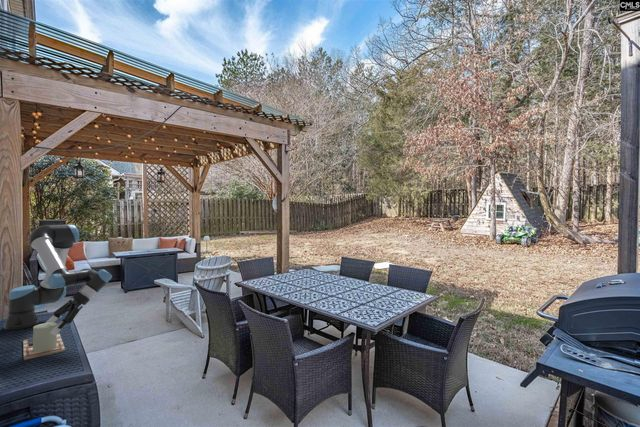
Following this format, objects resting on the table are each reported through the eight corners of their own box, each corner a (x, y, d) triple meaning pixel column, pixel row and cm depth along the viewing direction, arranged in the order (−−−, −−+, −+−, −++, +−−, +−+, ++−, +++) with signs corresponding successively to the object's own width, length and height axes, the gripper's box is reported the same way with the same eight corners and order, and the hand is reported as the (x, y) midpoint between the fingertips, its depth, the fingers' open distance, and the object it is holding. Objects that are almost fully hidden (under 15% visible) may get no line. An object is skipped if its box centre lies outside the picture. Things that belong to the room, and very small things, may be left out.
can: (42, 353, 153) (42, 328, 153) (27, 351, 155) (28, 326, 155) (61, 345, 162) (62, 322, 162) (47, 343, 164) (47, 320, 164)
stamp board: (23, 342, 168) (23, 338, 168) (59, 335, 178) (59, 331, 178) (23, 360, 148) (23, 356, 148) (64, 351, 158) (64, 347, 158)
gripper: (98, 303, 166) (62, 340, 154) (81, 295, 181) (47, 329, 168) (87, 295, 162) (48, 333, 149) (70, 287, 176) (34, 321, 164)
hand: (48, 331), depth 159 cm, fingers open, 13 cm apart
